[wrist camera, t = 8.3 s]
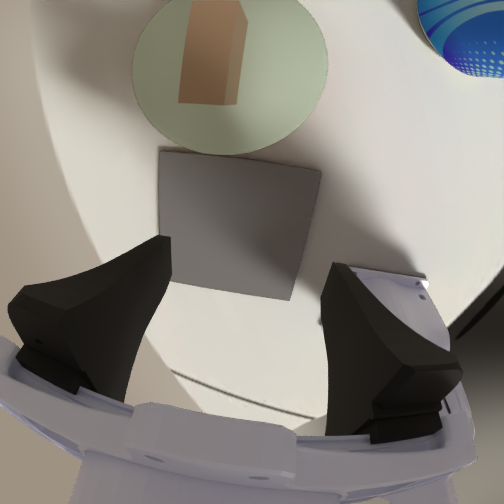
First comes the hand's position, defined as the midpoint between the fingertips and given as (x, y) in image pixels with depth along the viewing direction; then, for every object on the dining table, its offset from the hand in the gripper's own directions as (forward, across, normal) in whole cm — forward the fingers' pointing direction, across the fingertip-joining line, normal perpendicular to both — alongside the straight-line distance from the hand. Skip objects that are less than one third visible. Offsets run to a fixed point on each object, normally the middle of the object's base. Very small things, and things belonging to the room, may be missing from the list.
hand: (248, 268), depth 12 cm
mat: (+10, +2, +4) cm, 11 cm away
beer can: (+10, -13, -18) cm, 24 cm away
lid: (+6, +3, -9) cm, 11 cm away
